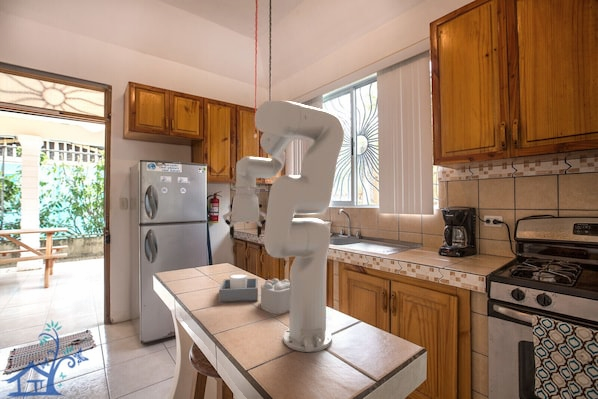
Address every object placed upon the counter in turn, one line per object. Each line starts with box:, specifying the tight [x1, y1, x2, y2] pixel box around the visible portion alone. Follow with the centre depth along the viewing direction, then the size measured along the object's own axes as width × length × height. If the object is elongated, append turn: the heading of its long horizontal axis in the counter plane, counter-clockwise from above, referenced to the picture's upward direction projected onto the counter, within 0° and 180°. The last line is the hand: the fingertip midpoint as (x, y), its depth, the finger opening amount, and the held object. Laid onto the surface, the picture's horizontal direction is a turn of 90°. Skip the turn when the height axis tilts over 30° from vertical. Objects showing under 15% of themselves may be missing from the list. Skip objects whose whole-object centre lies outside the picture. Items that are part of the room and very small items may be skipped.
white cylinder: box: [229, 273, 249, 289], centre depth 103 cm, size 7×7×7 cm
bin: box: [218, 277, 259, 304], centre depth 104 cm, size 14×14×5 cm
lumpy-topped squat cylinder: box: [260, 277, 290, 315], centre depth 94 cm, size 10×13×9 cm
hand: (245, 237), depth 104 cm, fingers open, 9 cm apart
